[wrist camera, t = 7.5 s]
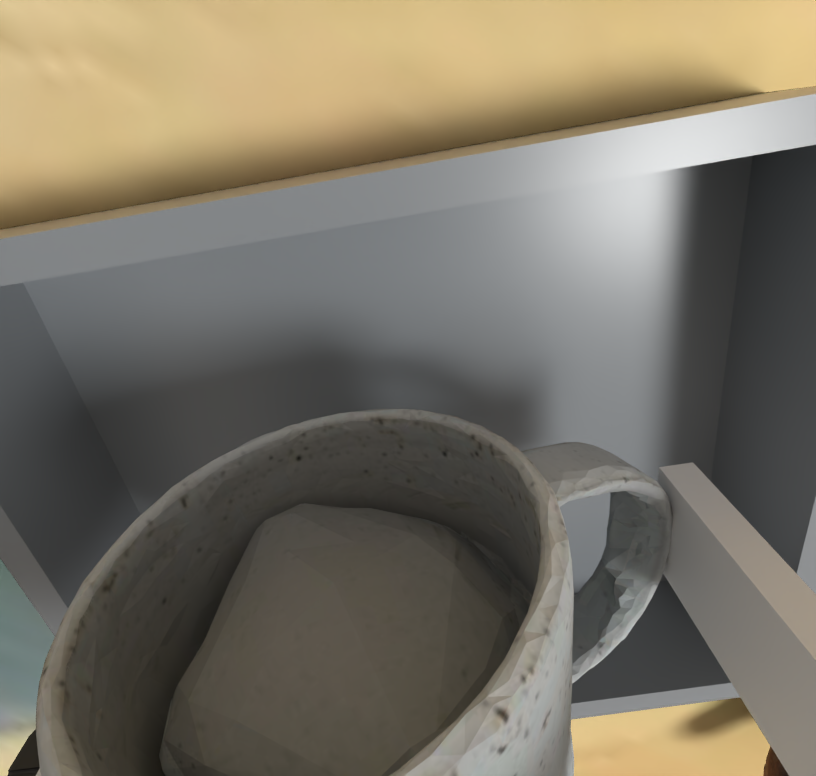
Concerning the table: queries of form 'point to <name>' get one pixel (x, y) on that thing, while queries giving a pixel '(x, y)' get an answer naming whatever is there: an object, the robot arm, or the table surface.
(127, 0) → the table surface
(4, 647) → the table surface
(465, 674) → the ceramic mug
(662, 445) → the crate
